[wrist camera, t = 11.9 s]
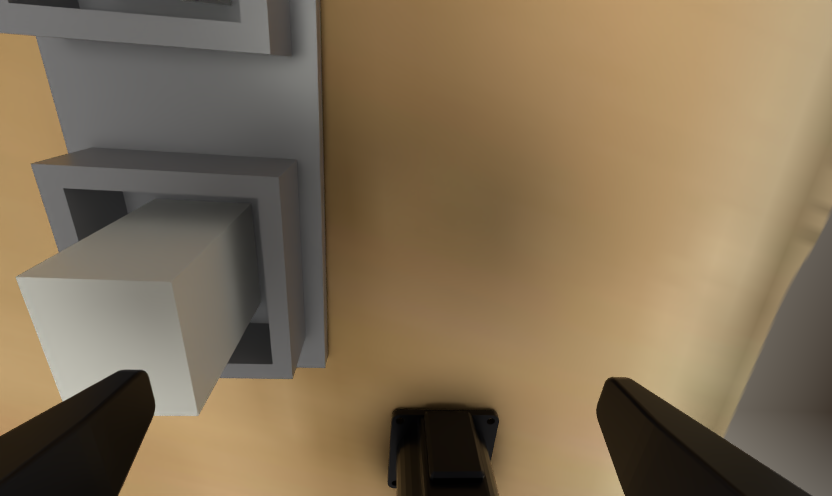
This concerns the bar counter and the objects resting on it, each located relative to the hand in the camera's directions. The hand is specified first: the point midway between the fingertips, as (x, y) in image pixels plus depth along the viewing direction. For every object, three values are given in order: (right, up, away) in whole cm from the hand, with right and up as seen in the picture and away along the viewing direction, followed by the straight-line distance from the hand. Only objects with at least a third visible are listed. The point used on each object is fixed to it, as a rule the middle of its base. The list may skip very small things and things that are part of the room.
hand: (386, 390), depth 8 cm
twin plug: (-9, +3, +10) cm, 14 cm away
